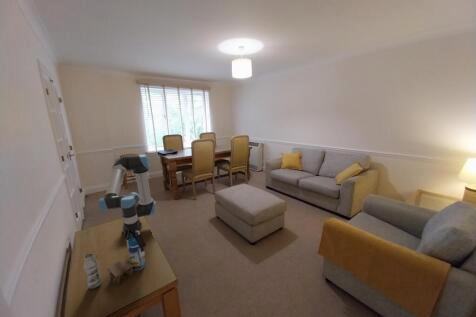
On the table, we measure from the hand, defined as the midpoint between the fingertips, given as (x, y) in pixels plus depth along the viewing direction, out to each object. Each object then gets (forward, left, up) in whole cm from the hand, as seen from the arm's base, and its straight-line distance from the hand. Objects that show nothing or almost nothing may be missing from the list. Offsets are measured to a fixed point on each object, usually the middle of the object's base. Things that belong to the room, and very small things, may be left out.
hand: (136, 251), depth 124 cm
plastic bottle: (+21, -8, -11) cm, 25 cm away
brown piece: (+10, -1, -11) cm, 15 cm away
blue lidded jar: (0, 0, -11) cm, 11 cm away
